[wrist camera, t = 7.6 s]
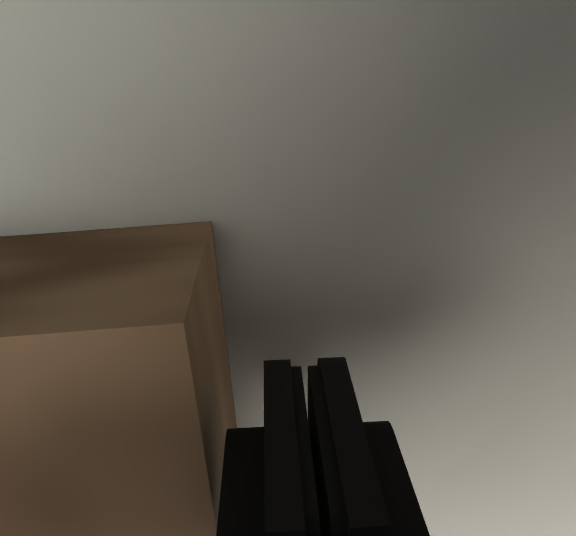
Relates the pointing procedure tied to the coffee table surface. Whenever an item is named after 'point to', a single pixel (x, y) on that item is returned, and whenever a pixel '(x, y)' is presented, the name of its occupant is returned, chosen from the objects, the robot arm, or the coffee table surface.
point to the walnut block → (112, 383)
